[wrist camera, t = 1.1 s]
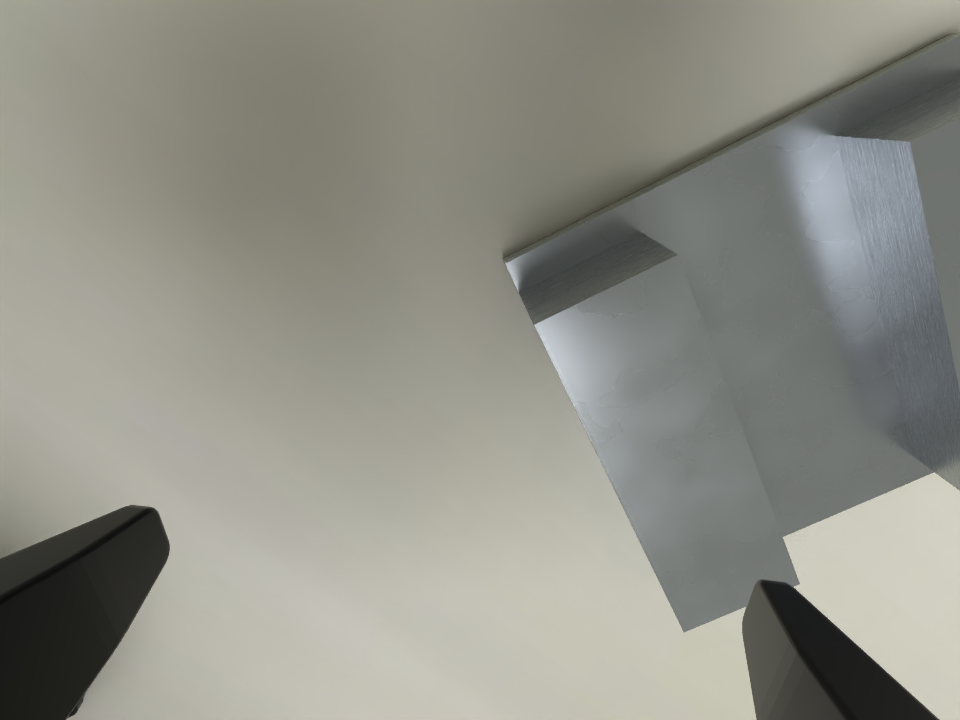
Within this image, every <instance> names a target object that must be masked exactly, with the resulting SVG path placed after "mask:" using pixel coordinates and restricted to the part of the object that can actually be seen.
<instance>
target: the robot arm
mask: <svg viewBox="0 0 960 720" xmlns="http://www.w3.org/2000/svg"><path fill="white" fill-rule="evenodd" d="M169 551H170V544H169V540H168V537H167V535H166V532H165V529H164V526H163V523H162V521H161V518H160V515H159V513H158V511H157V510H156V509H155V508H152V507H147V506H137V505H129V506H126V507H123V508H121V509H118V510H116V511H114V512H111V513H109V514H106V515H104V516H102V517H99V518H97V519H94V520H92V521H90V522H87V523H85V524H82V525H80V526H78V527H75V528H73V529H70V530H68V531H66V532H63V533H61V534H58V535H56V536H54V537H51V538H49V539H46V540H44V541H42V542H39V543H37V544H34V545H32V546H30V547H27V548H25V549H22V550H20V551H18V552H15V553H13V554H10V555H8V556H6V557H3V558H1V559H0V720H66V719H67V718H69V717H71V716H73V715H74V714H76V713H77V711H78V709H79V707H80V706H81V704H82V702H83V697H82V696H83V695H84V694H85V692H86V691H87V689H88V688H89V686H90V685H91V684H92V682H93V681H94V679H95V678H96V677H97V675H98V674H99V672H100V671H101V669H102V668H103V667H104V665H105V664H106V662H107V661H108V660H109V658H110V657H111V655H112V654H113V652H114V651H115V649H116V648H117V646H118V645H119V643H120V642H121V640H122V638H123V637H124V635H125V633H126V632H127V630H128V629H129V627H130V625H131V623H132V622H133V620H134V618H135V616H136V614H137V613H138V611H139V609H140V607H141V606H142V604H143V602H144V600H145V599H146V597H147V595H148V593H149V592H150V590H151V588H152V586H153V585H154V583H155V581H156V579H157V577H158V576H159V574H160V572H161V570H162V569H163V567H164V565H165V563H166V561H167V559H168V556H169ZM742 633H743V641H744V647H745V653H746V659H747V665H748V670H749V676H750V682H751V688H752V694H753V700H754V706H755V712H756V718H757V720H939V719H938V718H937V717H936V716H935V715H934V714H933V713H931V712H930V711H929V710H928V709H927V708H926V707H925V706H924V705H923V704H922V703H920V702H919V701H918V700H917V699H916V698H915V697H914V696H913V695H912V694H911V693H909V692H908V691H907V690H906V689H905V688H904V687H903V686H902V685H901V684H899V683H898V682H897V681H896V680H895V679H894V678H893V677H892V676H891V675H890V674H888V673H887V672H886V671H885V670H884V669H883V668H882V667H881V666H880V665H879V664H877V663H876V662H875V661H874V660H873V659H872V658H871V657H870V656H869V655H867V654H866V653H865V652H864V651H863V650H862V649H861V648H860V647H859V646H858V645H856V644H855V643H854V642H853V641H852V640H851V639H850V638H849V637H848V636H847V635H845V634H844V633H843V632H842V631H841V630H840V629H839V628H838V627H837V626H835V625H834V624H833V623H832V622H831V621H830V620H829V619H828V618H827V617H826V616H824V615H823V614H822V613H821V612H820V611H819V610H818V609H817V608H816V607H815V606H813V605H812V604H811V603H810V602H809V601H808V600H807V599H806V598H805V597H803V596H802V595H801V594H800V593H799V592H798V591H797V590H796V589H795V588H794V587H792V586H791V585H789V584H788V583H786V582H780V581H772V580H764V579H762V580H758V581H757V582H756V583H755V585H754V587H753V590H752V593H751V596H750V599H749V602H748V604H747V607H746V610H745V613H744V616H743V622H742Z"/></svg>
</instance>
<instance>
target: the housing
mask: <svg viewBox="0 0 960 720" xmlns="http://www.w3.org/2000/svg"><path fill="white" fill-rule="evenodd" d="M503 261H504V263H505V265H506V267H507V269H508V271H509V273H510V275H511V278H512V280H513V282H514V284H515V286H516V288H517V290H518V292H519V294H520V296H521V298H522V300H523V302H524V305H525V307H526V309H527V311H528V313H529V315H530V317H531V319H532V322H533V324H534V326H535V328H536V330H537V332H538V334H539V336H540V338H541V340H542V342H543V344H544V346H545V348H546V350H547V352H548V355H549V357H550V359H551V361H552V363H553V365H554V367H555V369H556V371H557V373H558V375H559V377H560V379H561V381H562V383H563V385H564V387H565V389H566V391H567V394H568V396H569V398H570V400H571V402H572V404H573V406H574V408H575V410H576V412H577V414H578V416H579V418H580V420H581V422H582V424H583V426H584V428H585V430H586V432H587V435H588V437H589V439H590V441H591V443H592V445H593V447H594V449H595V451H596V453H597V455H598V457H599V459H600V461H601V463H602V465H603V467H604V469H605V471H606V473H607V476H608V478H609V480H610V482H611V484H612V486H613V488H614V490H615V492H616V494H617V496H618V498H619V500H620V502H621V504H622V506H623V508H624V510H625V512H626V515H627V517H628V519H629V521H630V523H631V525H632V527H633V529H634V531H635V533H636V535H637V537H638V539H639V541H640V543H641V545H642V547H643V549H644V551H645V553H646V556H647V558H648V560H649V562H650V564H651V566H652V568H653V570H654V572H655V574H656V576H657V578H658V580H659V582H660V584H661V586H662V588H663V590H664V592H665V594H666V597H667V599H668V601H669V603H670V605H671V607H672V609H673V611H674V613H675V615H676V617H677V619H678V621H679V623H680V625H681V627H682V629H683V631H684V632H686V631H688V630H691V629H693V628H696V627H698V626H700V625H703V624H705V623H708V622H710V621H712V620H715V619H717V618H720V617H722V616H724V615H727V614H729V613H732V612H734V611H736V610H739V609H741V608H743V607H746V606H747V604H748V602H749V599H750V596H751V593H752V590H753V587H754V585H755V583H756V582H757V581H758V580H762V579H764V580H772V581H780V582H786V583H788V584H789V585H791V586H792V587H794V586H796V585H799V584H800V583H799V580H798V578H797V575H796V572H795V570H794V567H793V564H792V561H791V559H790V556H789V553H788V551H787V548H786V545H785V542H784V540H783V537H784V536H786V535H788V534H791V533H793V532H795V531H798V530H800V529H802V528H805V527H807V526H809V525H812V524H814V523H816V522H819V521H821V520H823V519H826V518H828V517H830V516H833V515H835V514H837V513H840V512H842V511H844V510H847V509H849V508H851V507H854V506H856V505H858V504H861V503H863V502H865V501H868V500H870V499H873V498H875V497H877V496H880V495H882V494H884V493H887V492H889V491H891V490H894V489H896V488H898V487H901V486H903V485H905V484H908V483H910V482H912V481H915V480H917V479H919V478H922V477H924V476H926V475H929V474H931V473H933V472H935V473H936V474H938V475H939V476H941V477H942V478H943V479H945V480H946V481H947V482H949V483H950V484H952V485H953V486H954V487H956V488H957V489H958V490H960V33H954V34H950V35H948V36H946V37H944V38H942V39H940V40H938V41H936V42H934V43H932V44H930V45H928V46H926V47H924V48H922V49H920V50H918V51H916V52H914V53H912V54H910V55H908V56H906V57H904V58H902V59H900V60H898V61H896V62H894V63H892V64H890V65H888V66H886V67H884V68H882V69H880V70H878V71H876V72H874V73H872V74H870V75H868V76H866V77H864V78H862V79H860V80H858V81H856V82H854V83H852V84H850V85H848V86H846V87H844V88H842V89H840V90H838V91H836V92H834V93H832V94H830V95H828V96H826V97H824V98H822V99H820V100H818V101H816V102H814V103H812V104H810V105H808V106H806V107H804V108H802V109H800V110H798V111H796V112H794V113H792V114H790V115H788V116H786V117H784V118H782V119H780V120H778V121H776V122H774V123H772V124H770V125H768V126H766V127H764V128H762V129H760V130H758V131H756V132H754V133H752V134H750V135H748V136H746V137H744V138H742V139H740V140H738V141H737V142H735V143H733V144H731V145H729V146H727V147H725V148H723V149H721V150H719V151H717V152H715V153H713V154H711V155H709V156H707V157H705V158H703V159H701V160H699V161H697V162H695V163H693V164H691V165H689V166H687V167H685V168H683V169H681V170H679V171H677V172H675V173H673V174H671V175H669V176H667V177H665V178H663V179H661V180H659V181H657V182H655V183H653V184H651V185H649V186H647V187H645V188H643V189H641V190H639V191H637V192H635V193H633V194H631V195H629V196H627V197H625V198H623V199H621V200H619V201H617V202H615V203H613V204H611V205H609V206H607V207H605V208H603V209H601V210H599V211H597V212H595V213H593V214H591V215H589V216H587V217H585V218H583V219H581V220H579V221H577V222H575V223H573V224H571V225H569V226H567V227H565V228H563V229H561V230H559V231H557V232H555V233H553V234H551V235H549V236H547V237H545V238H543V239H541V240H539V241H537V242H535V243H533V244H531V245H529V246H527V247H525V248H523V249H521V250H519V251H517V252H515V253H514V254H512V255H510V256H508V257H506V258H504V259H503Z"/></svg>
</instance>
